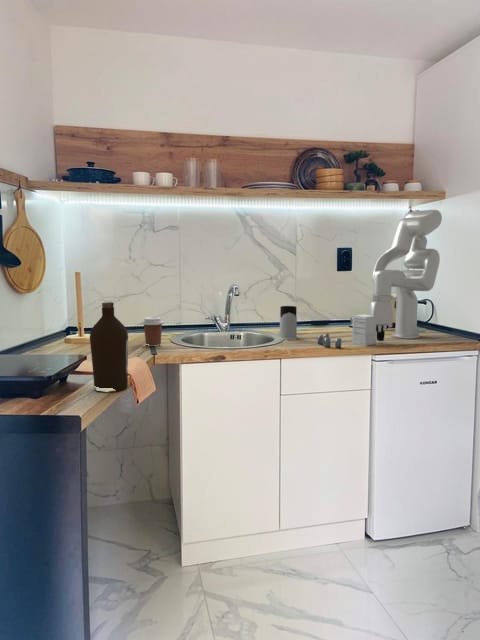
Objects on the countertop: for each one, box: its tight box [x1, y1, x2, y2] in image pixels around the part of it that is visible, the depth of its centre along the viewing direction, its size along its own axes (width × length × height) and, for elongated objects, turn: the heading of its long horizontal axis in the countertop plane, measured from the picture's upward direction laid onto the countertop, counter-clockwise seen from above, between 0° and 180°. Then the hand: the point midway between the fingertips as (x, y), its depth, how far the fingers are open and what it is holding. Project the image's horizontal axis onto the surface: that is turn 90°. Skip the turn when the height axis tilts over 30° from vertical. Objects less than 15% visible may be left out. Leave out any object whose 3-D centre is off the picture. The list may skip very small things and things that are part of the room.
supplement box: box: [351, 313, 377, 347], centre depth 204 cm, size 7×7×13 cm
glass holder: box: [279, 305, 298, 341], centre depth 221 cm, size 9×14×15 cm, turn 179°
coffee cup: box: [141, 316, 164, 347], centre depth 202 cm, size 9×9×12 cm
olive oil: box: [89, 301, 129, 393], centre depth 134 cm, size 11×11×25 cm
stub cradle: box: [317, 333, 342, 350], centre depth 201 cm, size 6×15×4 cm, turn 13°
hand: (380, 340), depth 206 cm, fingers closed
